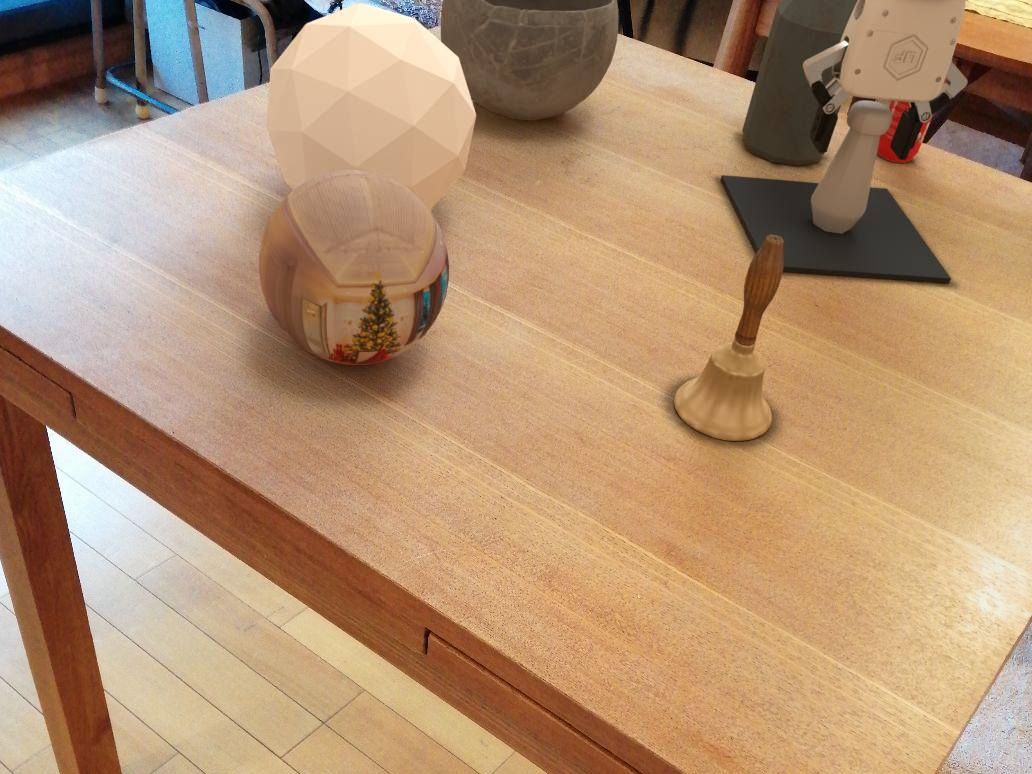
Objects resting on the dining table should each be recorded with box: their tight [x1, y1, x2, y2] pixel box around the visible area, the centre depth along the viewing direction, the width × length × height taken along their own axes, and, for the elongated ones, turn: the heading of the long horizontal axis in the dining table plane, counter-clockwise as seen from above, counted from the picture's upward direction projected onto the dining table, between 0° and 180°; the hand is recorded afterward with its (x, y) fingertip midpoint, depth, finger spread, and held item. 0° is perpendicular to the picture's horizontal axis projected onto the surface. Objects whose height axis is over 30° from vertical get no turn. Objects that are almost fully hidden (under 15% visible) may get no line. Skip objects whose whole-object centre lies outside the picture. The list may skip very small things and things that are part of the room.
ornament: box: [258, 170, 450, 366], centre depth 87 cm, size 15×15×15 cm
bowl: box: [440, 0, 619, 121], centre depth 127 cm, size 20×20×15 cm
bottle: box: [741, 0, 858, 167], centre depth 123 cm, size 10×10×30 cm
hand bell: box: [673, 235, 784, 442], centre depth 86 cm, size 8×8×16 cm
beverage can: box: [877, 59, 953, 164], centre depth 131 cm, size 5×5×12 cm
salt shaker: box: [811, 99, 893, 234], centre depth 114 cm, size 6×6×13 cm
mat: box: [720, 174, 952, 284], centre depth 118 cm, size 20×20×1 cm
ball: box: [266, 2, 477, 211], centre depth 103 cm, size 19×20×20 cm
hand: (858, 150), depth 112 cm, fingers open, 8 cm apart
